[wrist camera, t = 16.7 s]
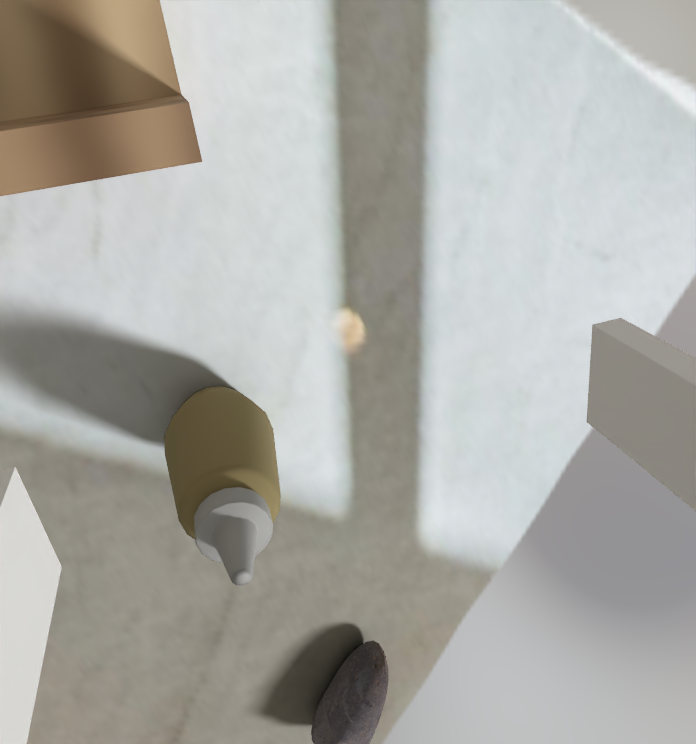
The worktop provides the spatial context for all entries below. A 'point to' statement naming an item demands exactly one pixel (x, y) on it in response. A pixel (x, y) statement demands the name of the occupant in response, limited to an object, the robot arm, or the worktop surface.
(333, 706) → the perforated stone tool
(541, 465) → the worktop surface
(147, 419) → the worktop surface
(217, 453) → the squeeze bottle
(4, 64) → the wooden l-shaped piece
